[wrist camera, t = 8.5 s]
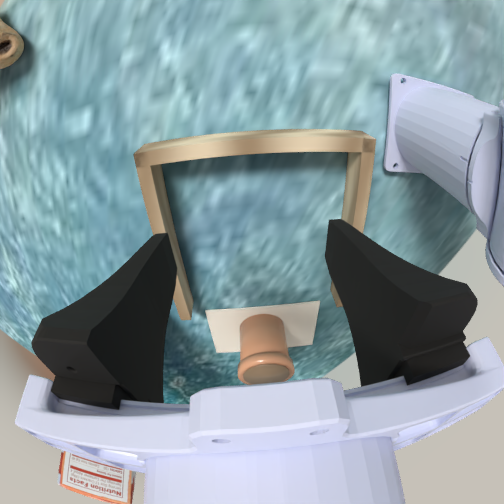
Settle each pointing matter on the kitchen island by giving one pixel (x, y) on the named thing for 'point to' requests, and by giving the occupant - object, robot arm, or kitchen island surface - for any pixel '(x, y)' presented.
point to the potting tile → (293, 315)
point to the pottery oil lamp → (9, 45)
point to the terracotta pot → (264, 351)
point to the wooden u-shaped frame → (241, 144)
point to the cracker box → (96, 479)
